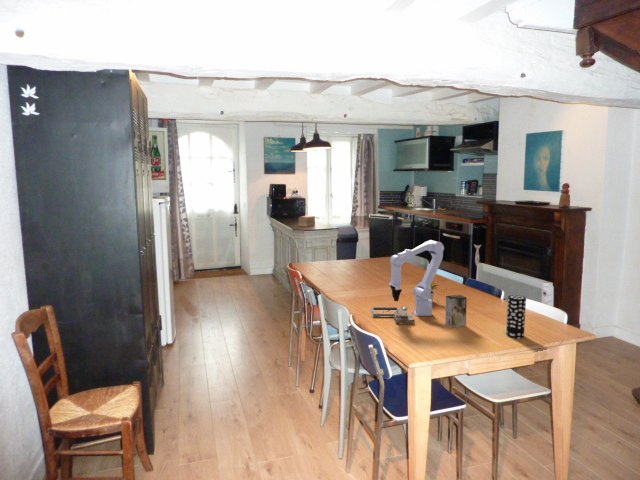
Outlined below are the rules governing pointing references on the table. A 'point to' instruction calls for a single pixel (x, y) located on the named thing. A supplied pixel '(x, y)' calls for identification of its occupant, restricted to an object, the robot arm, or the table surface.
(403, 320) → the pin block
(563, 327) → the table surface
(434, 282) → the house plant
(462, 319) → the coffee box
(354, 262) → the table surface
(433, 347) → the table surface
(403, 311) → the pin
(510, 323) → the white-spotted black cylinder
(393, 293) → the robot arm
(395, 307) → the tray
